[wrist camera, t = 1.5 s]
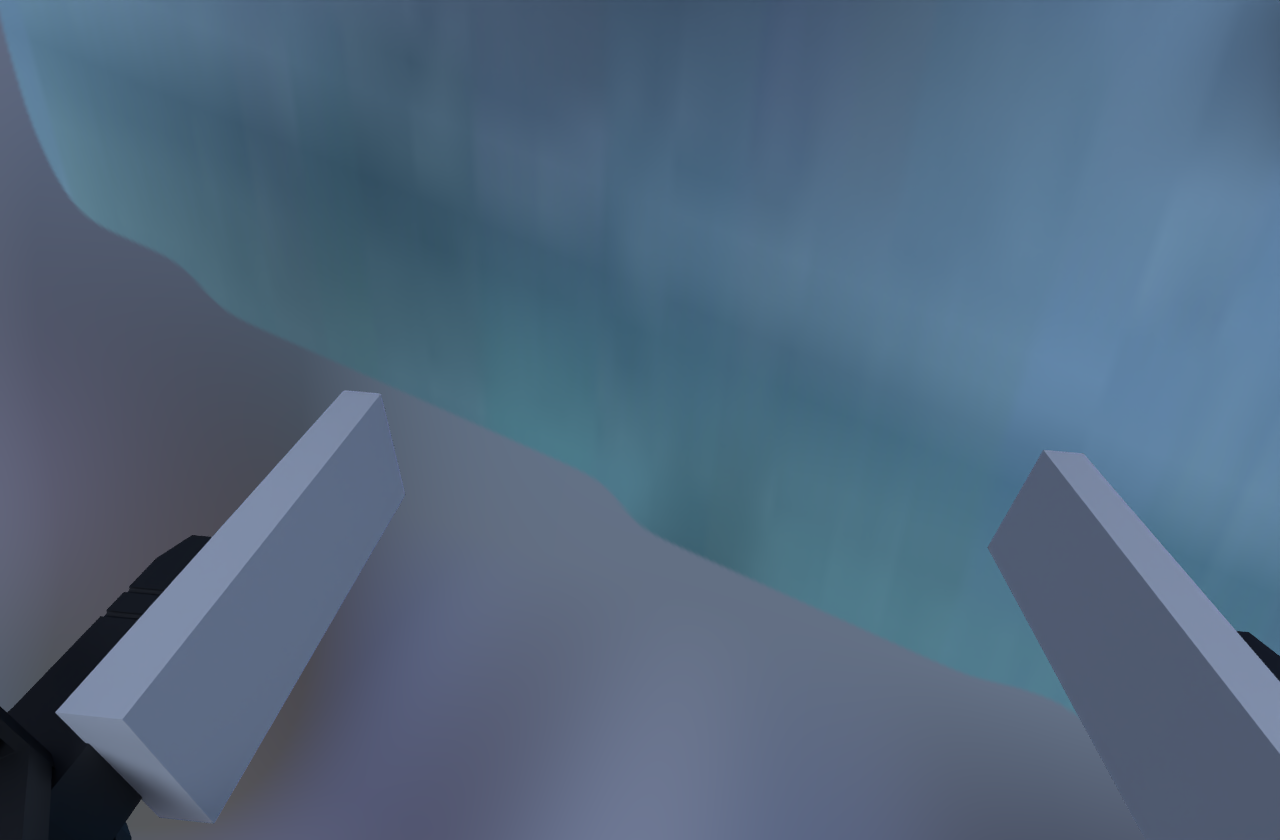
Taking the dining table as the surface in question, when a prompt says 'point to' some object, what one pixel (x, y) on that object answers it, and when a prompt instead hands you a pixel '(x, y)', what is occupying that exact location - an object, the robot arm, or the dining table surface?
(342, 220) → the dining table surface
